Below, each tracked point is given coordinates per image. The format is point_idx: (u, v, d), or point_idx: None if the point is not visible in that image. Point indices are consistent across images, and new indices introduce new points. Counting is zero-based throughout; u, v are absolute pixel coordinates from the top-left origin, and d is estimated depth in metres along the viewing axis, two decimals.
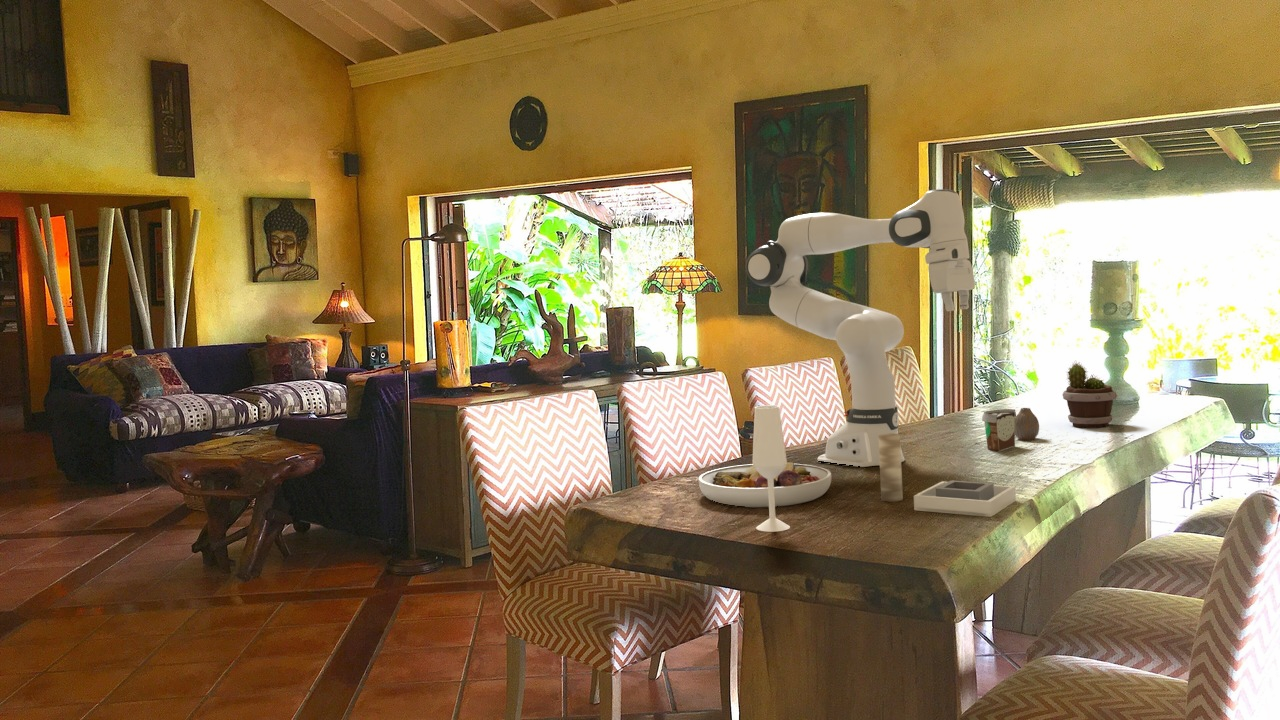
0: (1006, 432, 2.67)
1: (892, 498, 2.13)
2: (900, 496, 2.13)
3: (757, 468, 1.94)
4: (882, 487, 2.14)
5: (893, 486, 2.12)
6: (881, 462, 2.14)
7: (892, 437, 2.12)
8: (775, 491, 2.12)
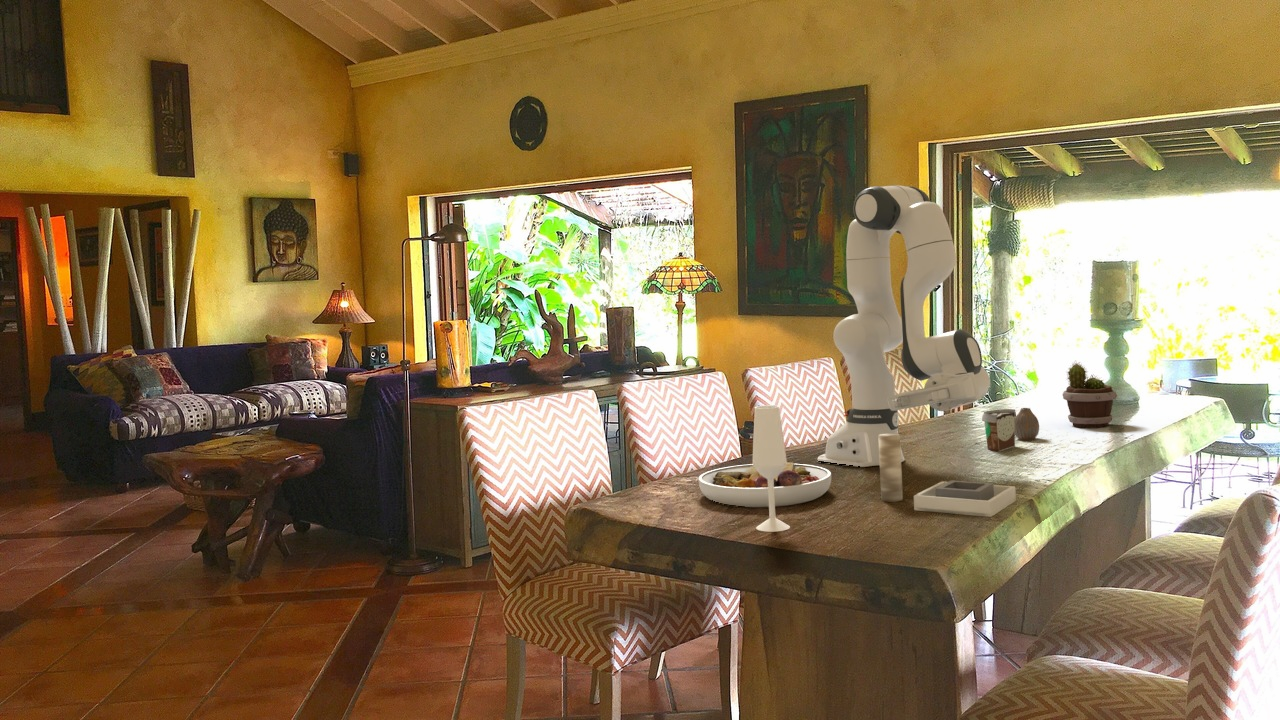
0: (1006, 432, 2.67)
1: (892, 498, 2.13)
2: (900, 496, 2.13)
3: (757, 468, 1.94)
4: (882, 487, 2.14)
5: (893, 486, 2.12)
6: (881, 462, 2.14)
7: (892, 437, 2.12)
8: (775, 491, 2.12)
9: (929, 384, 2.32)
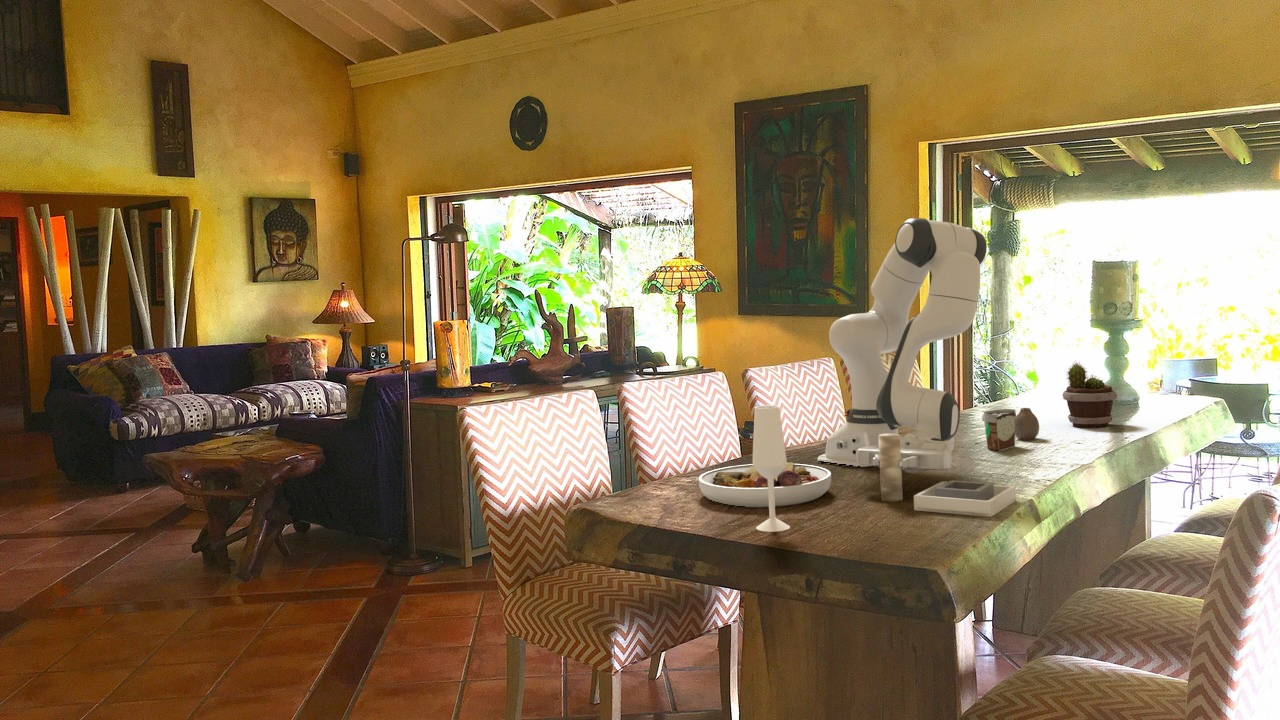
0: (1006, 432, 2.67)
1: (892, 498, 2.13)
2: (900, 496, 2.13)
3: (757, 468, 1.94)
4: (882, 487, 2.14)
5: (893, 486, 2.12)
6: (881, 462, 2.14)
7: (892, 437, 2.12)
8: (775, 491, 2.12)
9: (902, 444, 2.23)
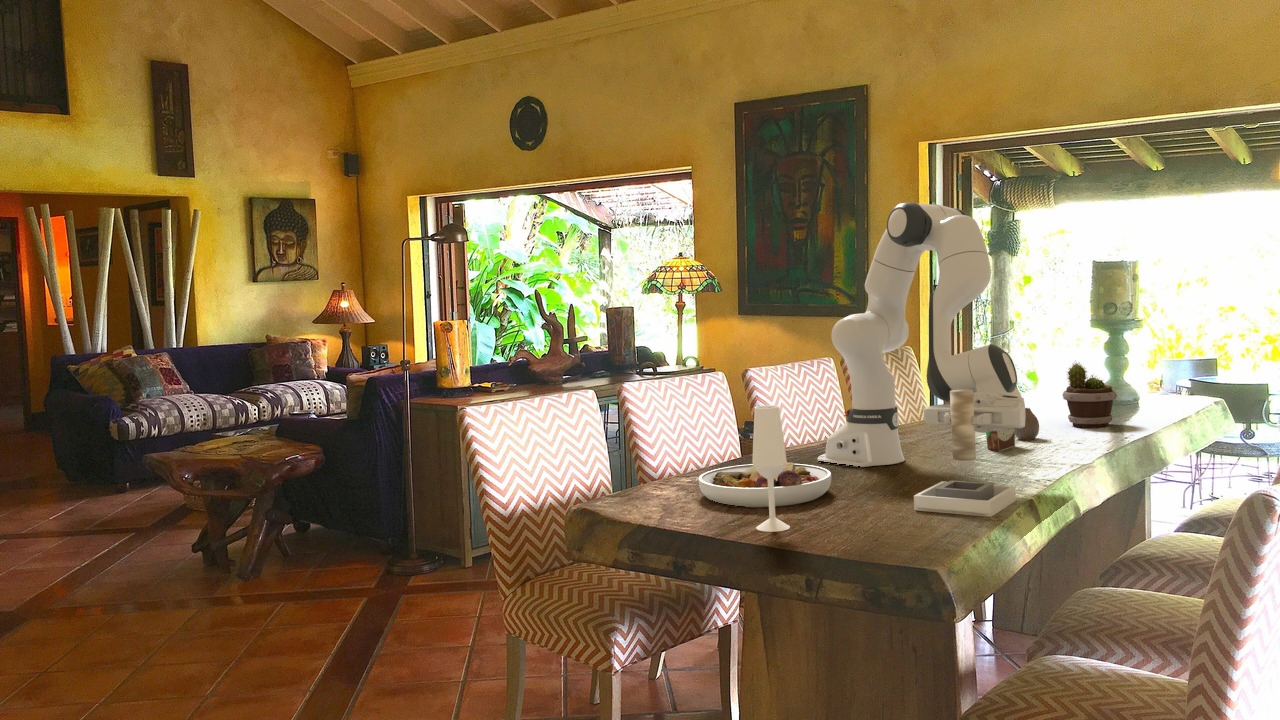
0: (1006, 432, 2.67)
1: (965, 456, 2.02)
2: (974, 455, 2.03)
3: (757, 468, 1.94)
4: (954, 445, 2.03)
5: (967, 444, 2.02)
6: (953, 419, 2.03)
7: (965, 392, 2.01)
8: (775, 491, 2.12)
9: None
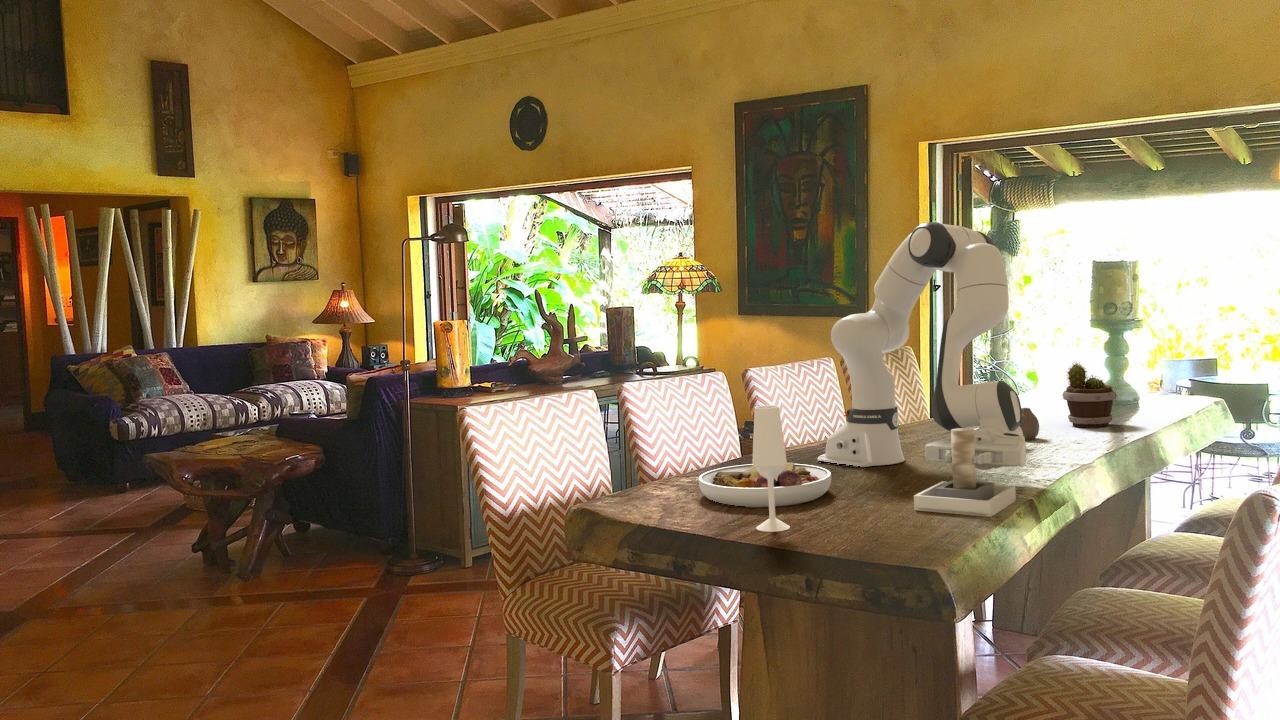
0: None
1: None
2: None
3: (757, 468, 1.94)
4: (955, 484, 2.04)
5: (968, 483, 2.03)
6: (954, 458, 2.04)
7: (966, 432, 2.02)
8: (775, 491, 2.12)
9: None
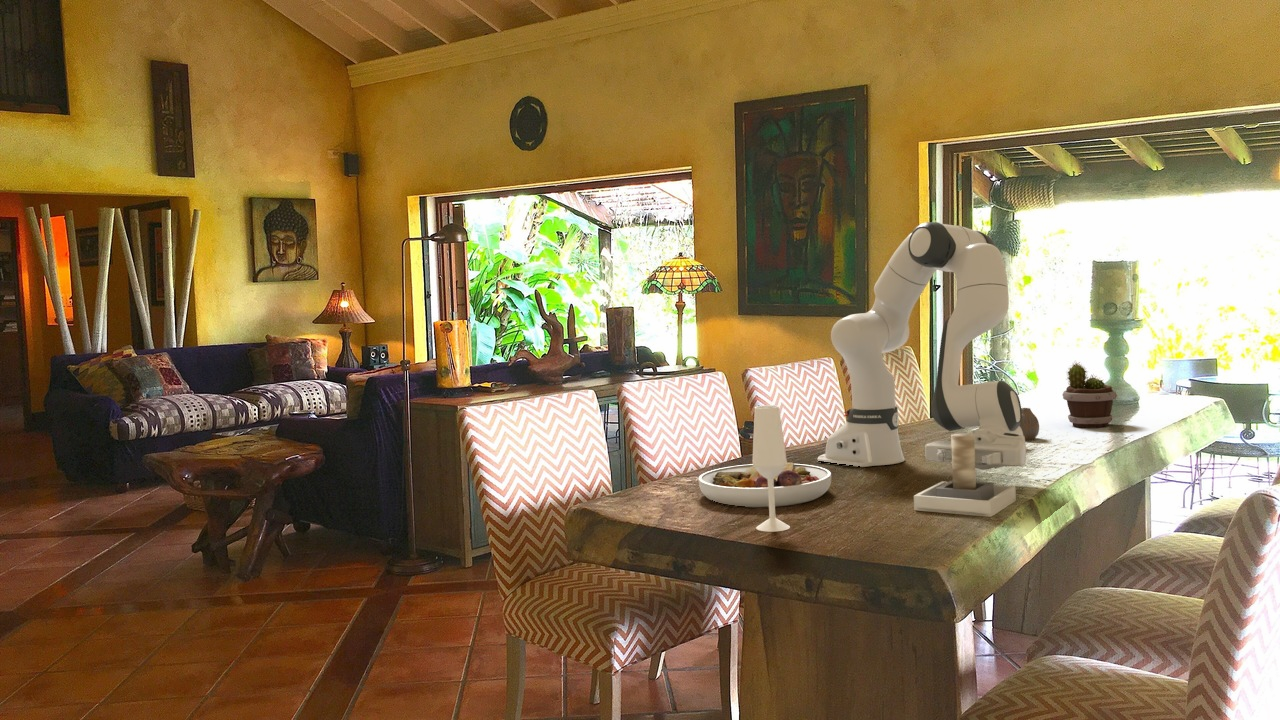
0: None
1: None
2: None
3: (757, 468, 1.94)
4: None
5: (968, 488, 2.03)
6: (954, 463, 2.04)
7: (966, 437, 2.02)
8: (775, 491, 2.12)
9: None
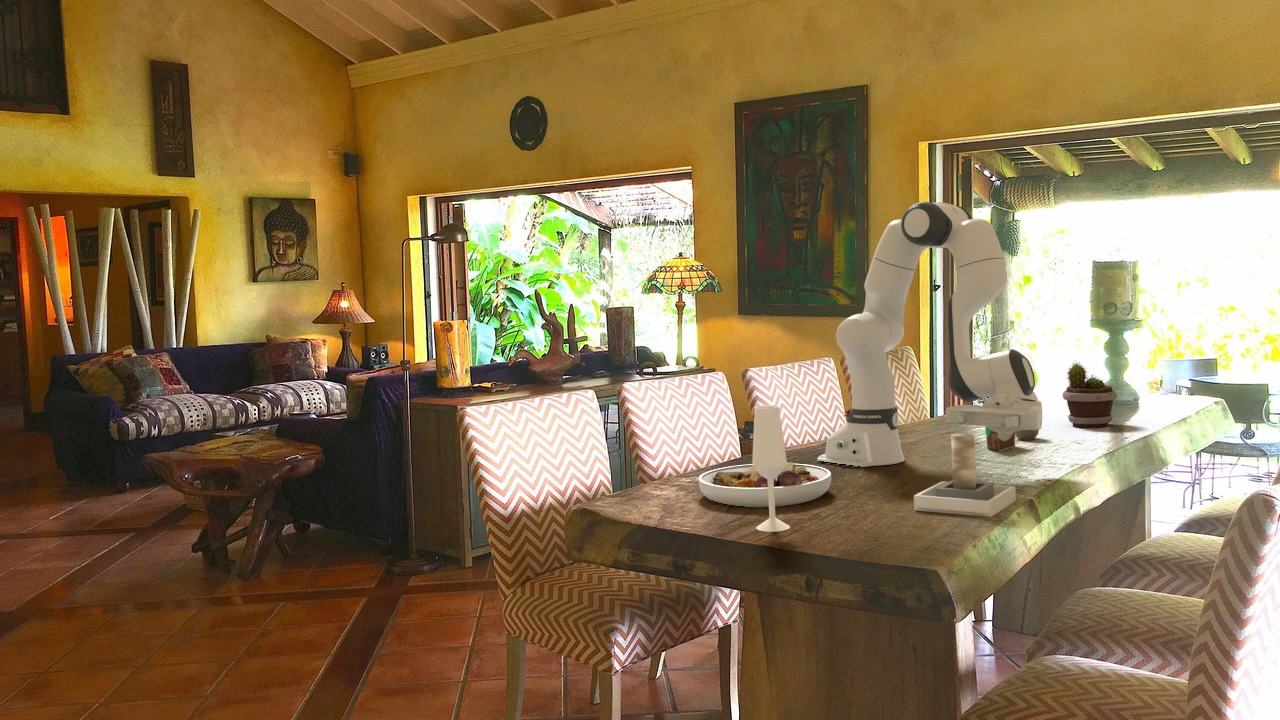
0: None
1: None
2: None
3: (757, 468, 1.94)
4: None
5: (968, 488, 2.03)
6: (954, 463, 2.04)
7: (966, 437, 2.02)
8: (775, 491, 2.12)
9: (991, 404, 2.24)
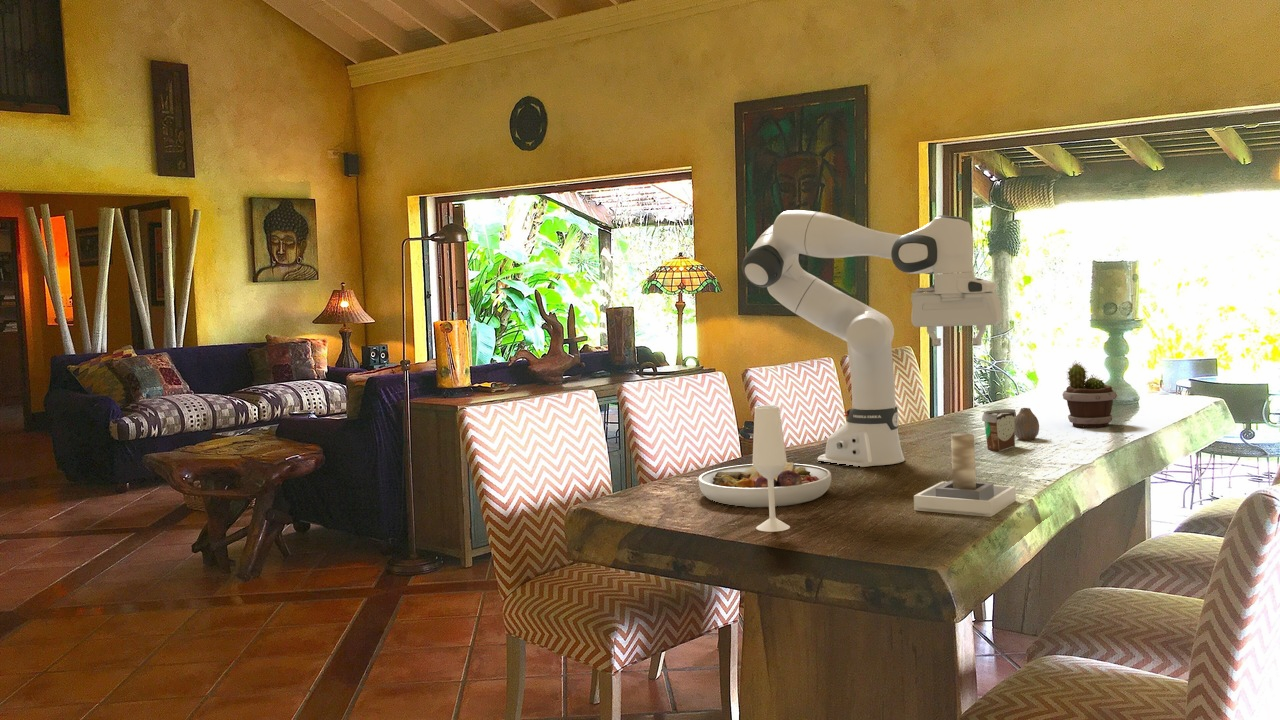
0: (1006, 432, 2.67)
1: None
2: None
3: (757, 468, 1.94)
4: None
5: (968, 488, 2.03)
6: (954, 463, 2.04)
7: (966, 437, 2.02)
8: (775, 491, 2.12)
9: (945, 301, 2.28)
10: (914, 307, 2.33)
